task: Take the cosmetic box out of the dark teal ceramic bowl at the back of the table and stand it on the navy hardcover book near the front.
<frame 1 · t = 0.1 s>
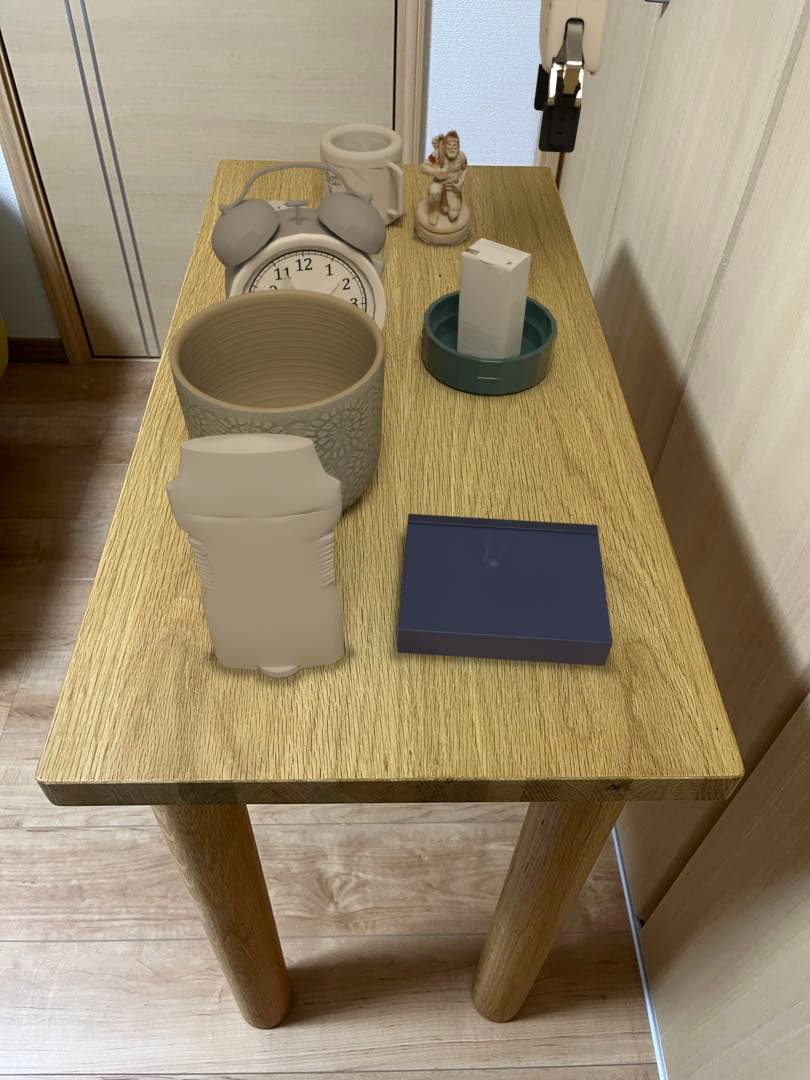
hand: (552, 129, 77), 22 cm above the table, tool pointing down, fingers open, 9 cm apart
bowl: (486, 358, 91), on the table
cosmetic box: (486, 356, 90), resting on bowl
planter: (293, 486, 76), on the table
figurine: (440, 235, 110), on the table
book: (499, 598, 68), on the table
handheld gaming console: (319, 297, 99), on the table
deodorant stick: (280, 657, 63), on the table
alarm clock: (310, 371, 89), on the table
mug: (369, 217, 113), on the table
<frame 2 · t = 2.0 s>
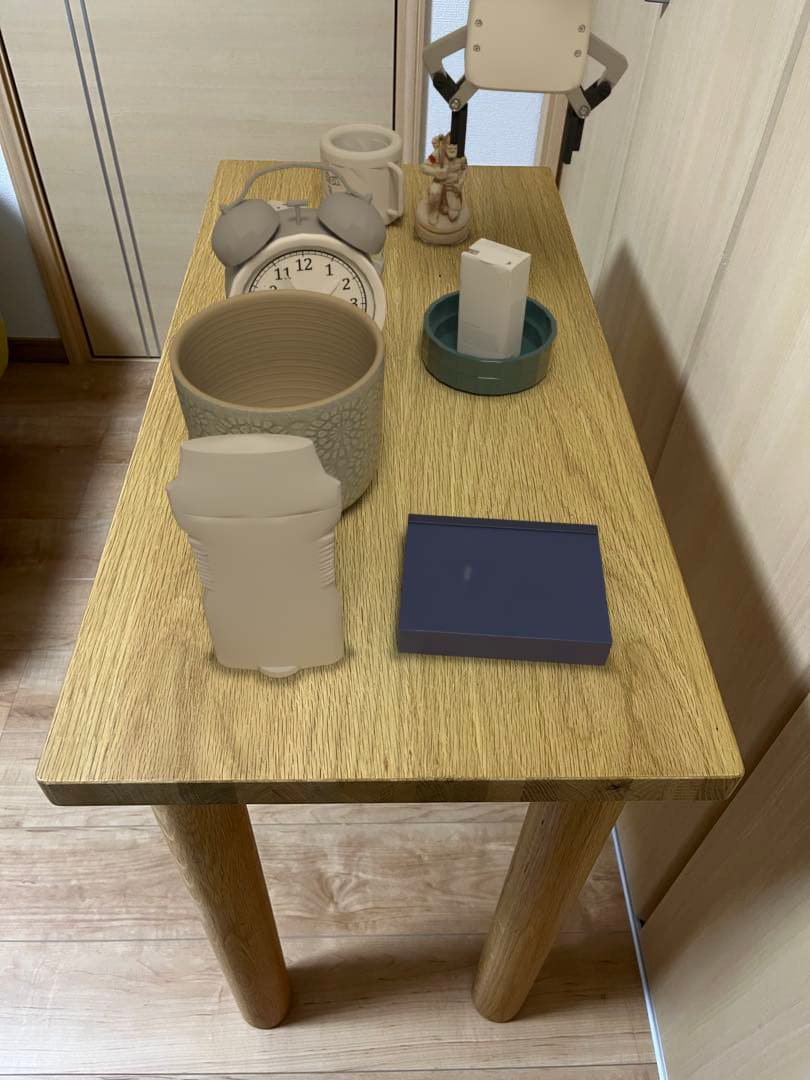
hand: (512, 155, 75), 22 cm above the table, tool pointing down, fingers open, 9 cm apart
nothing on the table moved.
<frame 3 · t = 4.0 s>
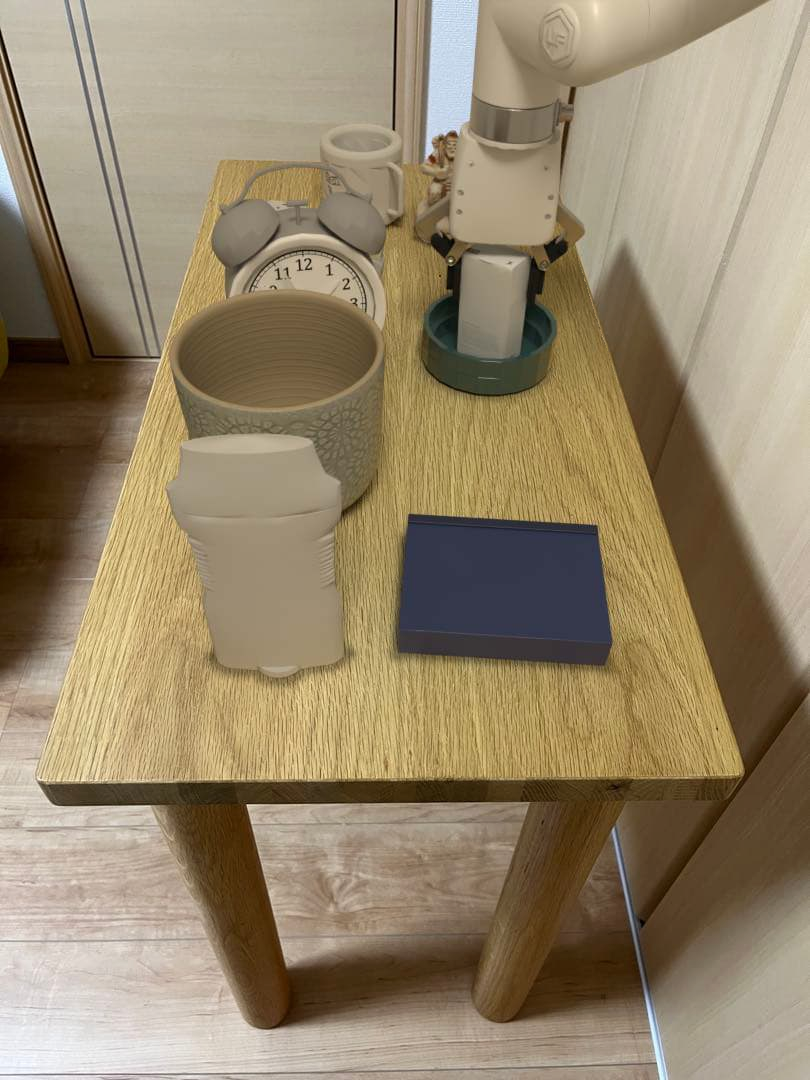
hand: (492, 296, 85), 8 cm above the table, tool pointing down, fingers closed on cosmetic box, 7 cm apart
cosmetic box: (486, 356, 90), resting on bowl, touching gripper
everything else where it was.
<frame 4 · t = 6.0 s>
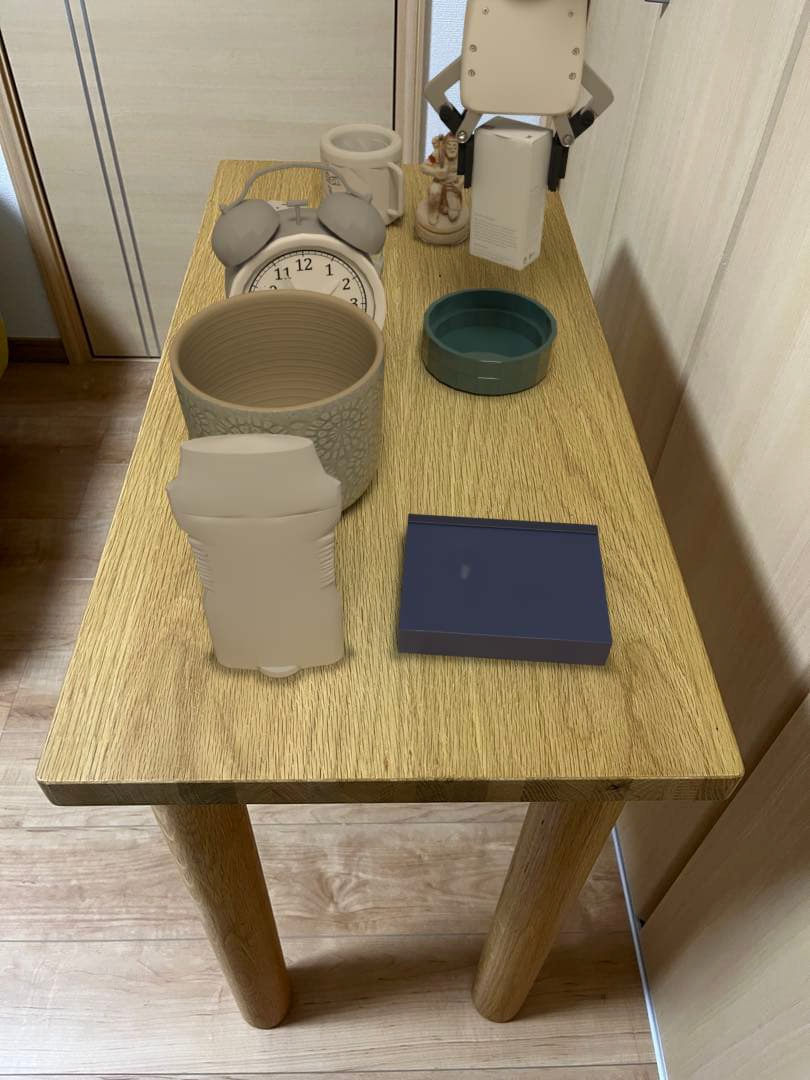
hand: (509, 182, 76), 20 cm above the table, tool pointing down, fingers closed on cosmetic box, 7 cm apart
cosmetic box: (502, 258, 81), point 12 cm above the table, touching gripper
everything else where it was.
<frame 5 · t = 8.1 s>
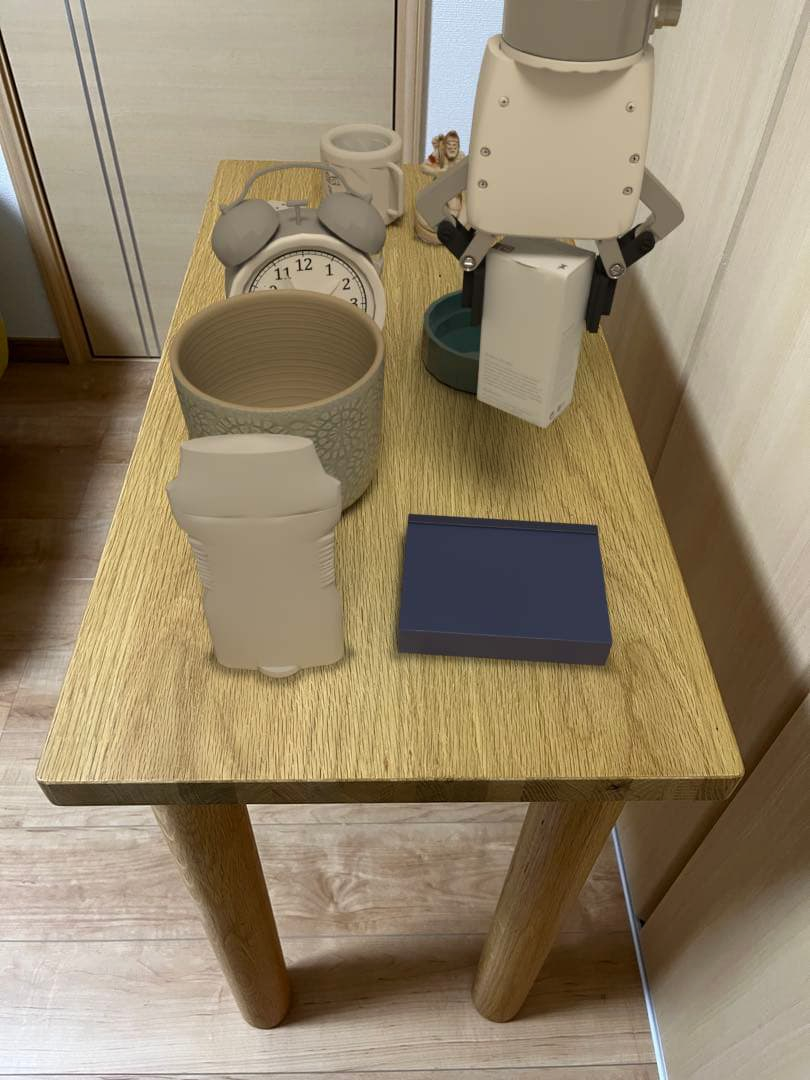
hand: (532, 317, 55), 22 cm above the table, tool pointing down, fingers closed on cosmetic box, 7 cm apart
cosmetic box: (520, 404, 61), point 15 cm above the table, touching gripper
everything else where it was.
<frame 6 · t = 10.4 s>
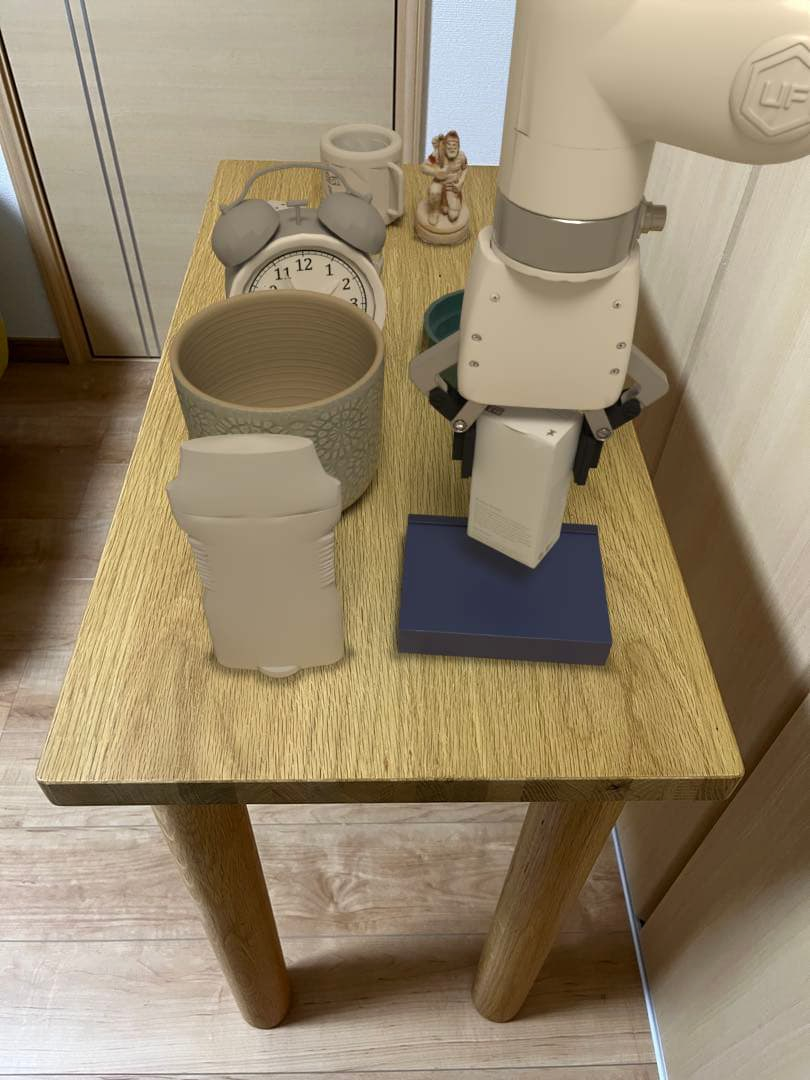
hand: (522, 467, 57), 15 cm above the table, tool pointing down, fingers closed on cosmetic box, 7 cm apart
cosmetic box: (509, 539, 62), point 7 cm above the table, touching gripper
everything else where it was.
when the fingers open (10 cm above the table, at t = 12.1 s): cosmetic box stays where it is, resting on book.
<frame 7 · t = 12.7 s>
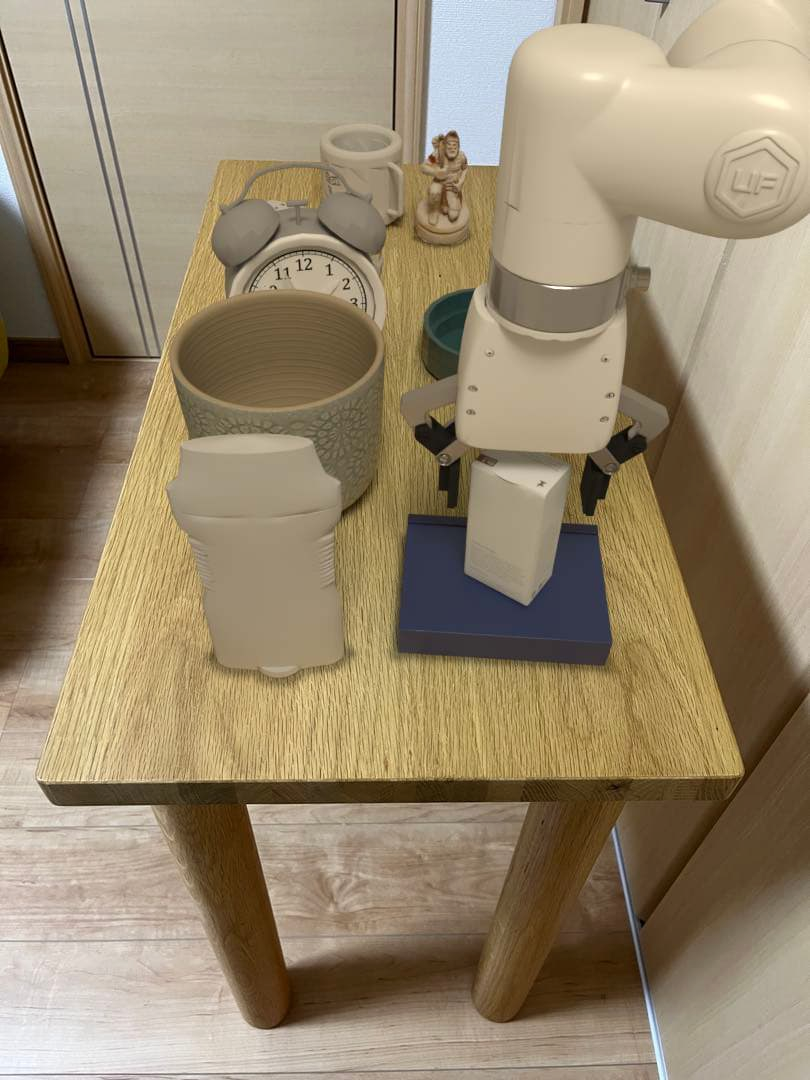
hand: (518, 498, 59), 12 cm above the table, tool pointing down, fingers open, 9 cm apart
cosmetic box: (504, 577, 65), point 3 cm above the table, touching book
everything else where it was.
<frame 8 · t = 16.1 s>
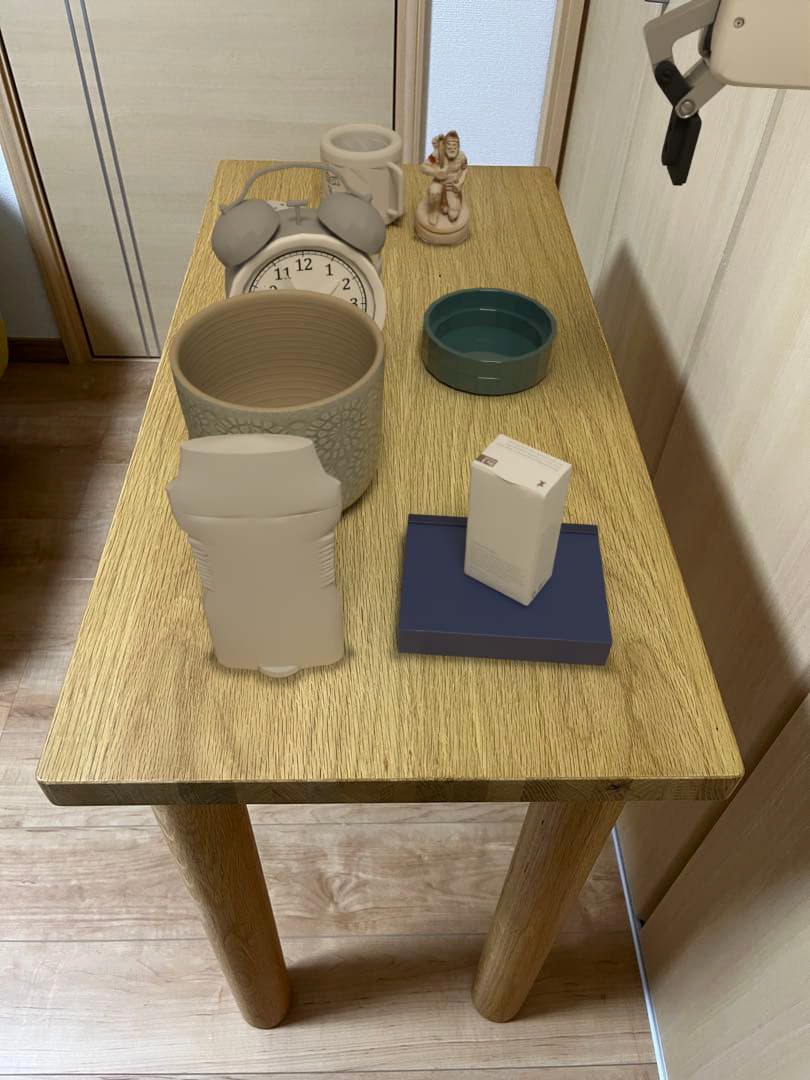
hand: (751, 180, 52), 30 cm above the table, tool pointing down, fingers open, 9 cm apart
nothing on the table moved.
at the end: cosmetic box inside the target area on the book (0.1 cm from its centre), point 2.8 cm above the book's base; cosmetic box touching book; cosmetic box tilted 0° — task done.
